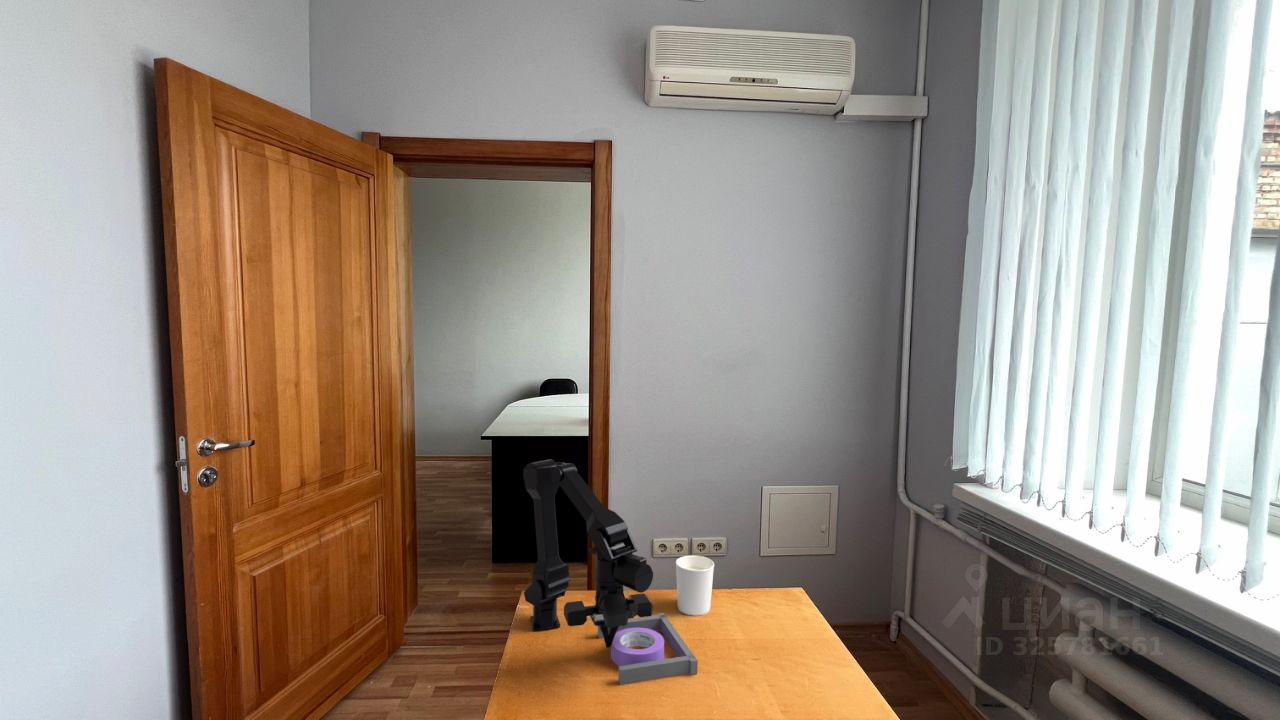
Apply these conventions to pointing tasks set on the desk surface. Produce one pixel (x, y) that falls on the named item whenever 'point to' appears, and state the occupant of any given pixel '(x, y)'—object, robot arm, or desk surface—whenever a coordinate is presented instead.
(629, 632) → the masking tape
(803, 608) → the desk surface
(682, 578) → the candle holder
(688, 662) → the grey bay
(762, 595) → the desk surface
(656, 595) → the desk surface
